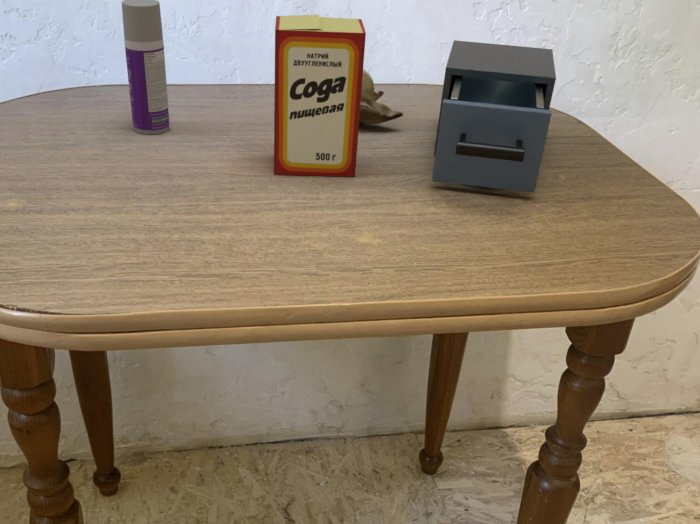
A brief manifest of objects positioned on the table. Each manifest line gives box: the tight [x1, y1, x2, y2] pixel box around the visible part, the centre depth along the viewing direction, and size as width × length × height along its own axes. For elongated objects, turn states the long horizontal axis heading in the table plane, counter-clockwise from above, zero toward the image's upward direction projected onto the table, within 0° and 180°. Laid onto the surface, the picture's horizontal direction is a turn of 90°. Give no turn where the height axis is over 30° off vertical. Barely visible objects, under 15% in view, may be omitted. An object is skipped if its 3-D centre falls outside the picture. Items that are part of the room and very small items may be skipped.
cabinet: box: [433, 39, 557, 157], centre depth 98 cm, size 14×13×11 cm
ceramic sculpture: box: [359, 68, 404, 125], centre depth 103 cm, size 11×9×15 cm
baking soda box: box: [273, 14, 367, 178], centre depth 88 cm, size 10×6×16 cm
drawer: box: [431, 75, 553, 194], centre depth 87 cm, size 17×11×9 cm
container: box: [121, 0, 170, 135], centre depth 96 cm, size 5×5×15 cm
